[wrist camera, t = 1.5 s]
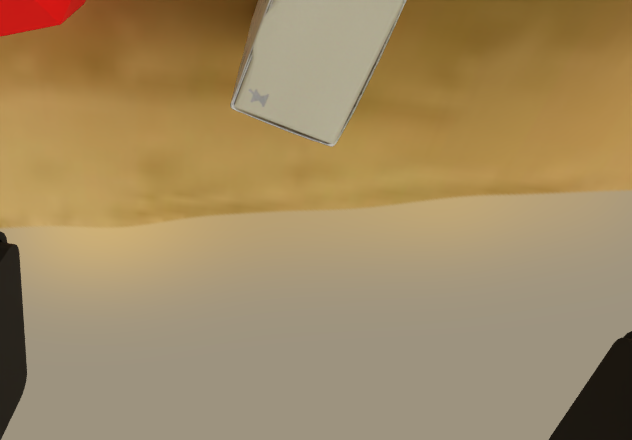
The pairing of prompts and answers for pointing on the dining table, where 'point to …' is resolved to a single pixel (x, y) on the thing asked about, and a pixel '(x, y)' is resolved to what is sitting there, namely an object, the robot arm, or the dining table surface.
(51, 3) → the ball
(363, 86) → the skincare box
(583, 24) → the dining table surface
